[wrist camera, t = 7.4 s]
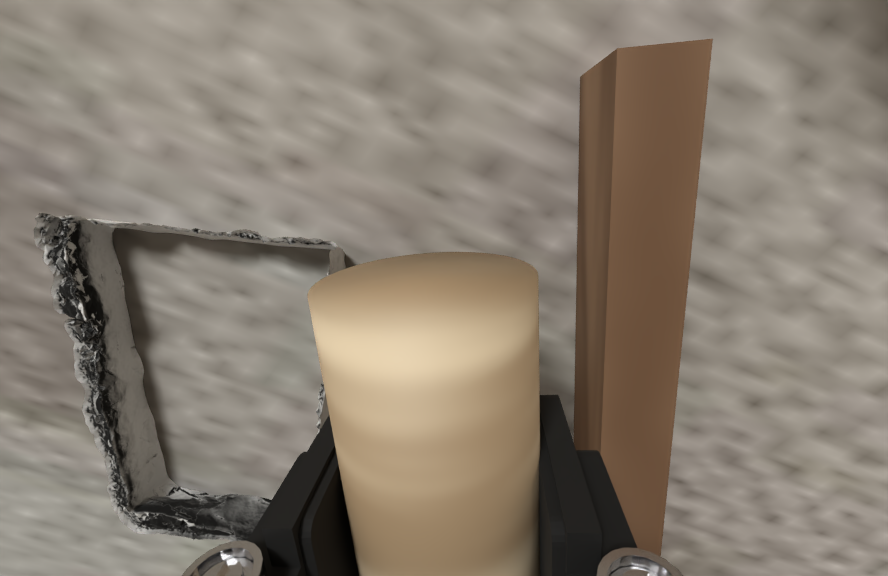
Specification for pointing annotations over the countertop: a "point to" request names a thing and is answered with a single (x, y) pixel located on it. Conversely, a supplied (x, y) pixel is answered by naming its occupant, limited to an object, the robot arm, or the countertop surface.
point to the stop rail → (636, 263)
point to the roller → (435, 411)
